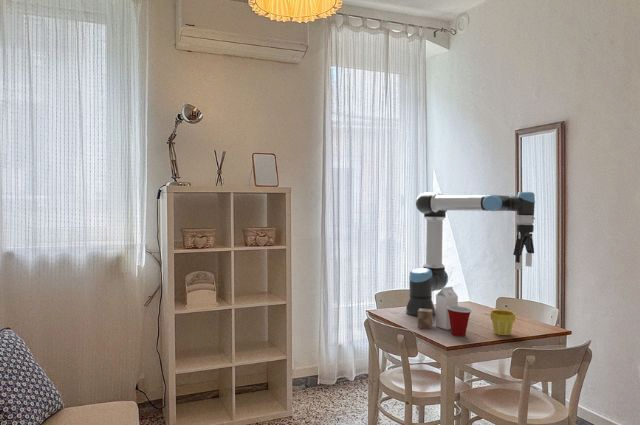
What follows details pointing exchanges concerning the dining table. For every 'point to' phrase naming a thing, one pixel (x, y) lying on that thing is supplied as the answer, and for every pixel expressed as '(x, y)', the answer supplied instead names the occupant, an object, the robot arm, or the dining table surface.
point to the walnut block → (425, 318)
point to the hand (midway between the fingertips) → (523, 267)
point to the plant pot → (502, 321)
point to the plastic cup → (458, 319)
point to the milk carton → (445, 306)
